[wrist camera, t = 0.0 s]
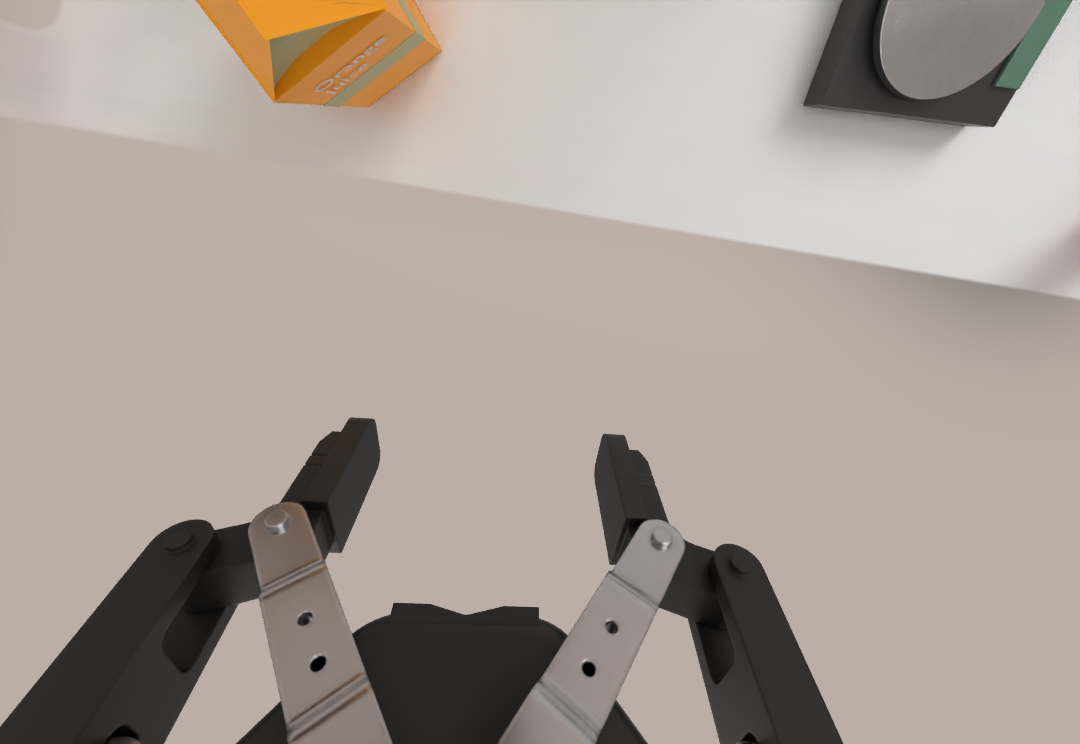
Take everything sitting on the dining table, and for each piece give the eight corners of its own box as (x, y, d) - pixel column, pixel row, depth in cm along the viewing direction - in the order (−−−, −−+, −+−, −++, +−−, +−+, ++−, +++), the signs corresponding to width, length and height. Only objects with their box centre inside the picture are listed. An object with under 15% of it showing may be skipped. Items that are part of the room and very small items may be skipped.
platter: (932, -125, 25) (944, -132, 24) (1092, -97, 26) (1107, -103, 25) (843, 90, 31) (850, 90, 30) (975, 107, 32) (985, 107, 31)
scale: (889, -127, 27) (924, -151, 24) (1091, -92, 28) (1143, -111, 26) (802, 105, 34) (823, 104, 31) (966, 126, 35) (998, 127, 32)
